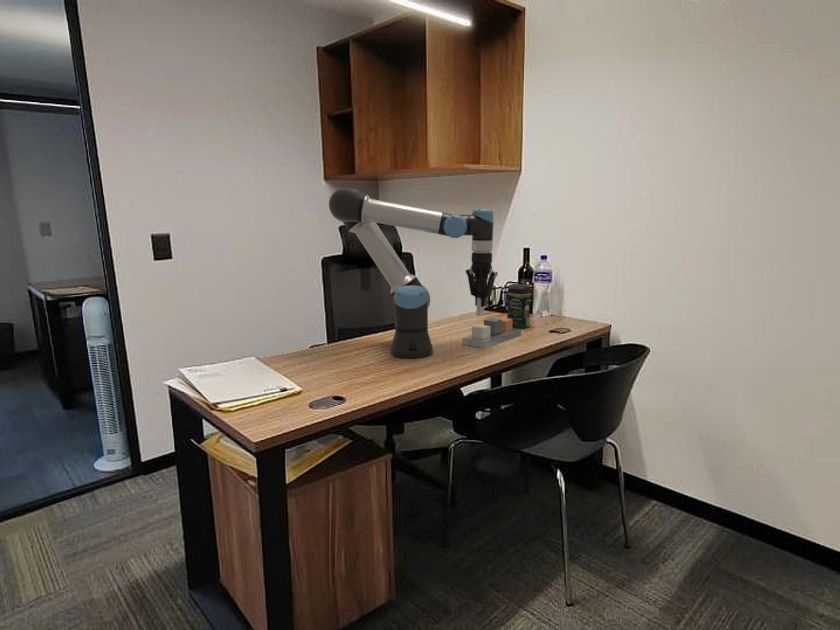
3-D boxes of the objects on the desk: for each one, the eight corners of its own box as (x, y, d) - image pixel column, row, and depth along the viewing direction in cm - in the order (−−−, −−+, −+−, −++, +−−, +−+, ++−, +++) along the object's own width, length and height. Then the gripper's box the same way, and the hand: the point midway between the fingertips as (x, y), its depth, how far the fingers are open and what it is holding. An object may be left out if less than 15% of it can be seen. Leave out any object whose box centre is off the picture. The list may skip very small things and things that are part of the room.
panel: (484, 348, 190) (484, 341, 189) (462, 344, 196) (462, 337, 196) (520, 335, 209) (520, 329, 208) (499, 331, 215) (499, 325, 215)
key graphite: (494, 334, 198) (494, 321, 197) (483, 332, 202) (483, 319, 201) (501, 331, 202) (501, 319, 201) (490, 330, 205) (491, 317, 204)
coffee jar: (503, 326, 225) (504, 284, 221) (513, 323, 230) (514, 282, 227) (523, 329, 218) (524, 286, 215) (532, 326, 224) (534, 284, 220)
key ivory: (482, 341, 193) (482, 328, 192) (471, 339, 196) (471, 326, 195) (490, 339, 197) (490, 326, 196) (479, 337, 200) (479, 324, 199)
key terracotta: (505, 333, 205) (505, 321, 204) (494, 331, 208) (495, 319, 207) (512, 331, 208) (512, 319, 207) (501, 329, 212) (501, 317, 211)
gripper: (502, 252, 188) (500, 315, 193) (473, 250, 197) (471, 311, 201) (491, 253, 183) (489, 318, 187) (461, 251, 191) (460, 314, 196)
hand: (480, 314), depth 194 cm, fingers closed
